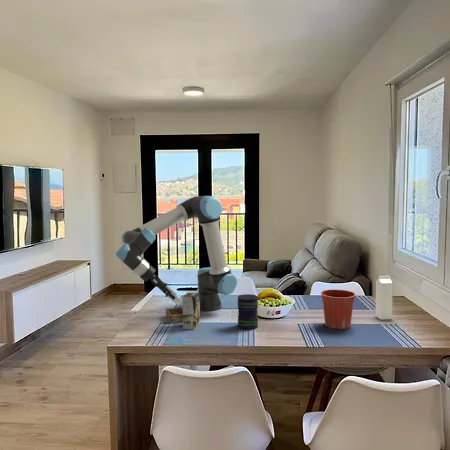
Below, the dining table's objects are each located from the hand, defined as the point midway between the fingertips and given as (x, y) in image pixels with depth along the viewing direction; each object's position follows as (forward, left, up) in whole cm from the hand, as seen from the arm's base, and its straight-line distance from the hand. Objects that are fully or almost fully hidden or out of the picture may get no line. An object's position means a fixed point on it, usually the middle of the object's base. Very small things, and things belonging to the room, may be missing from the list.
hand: (177, 299), depth 202 cm
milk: (-104, +17, -14) cm, 106 cm away
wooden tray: (-4, -15, -14) cm, 21 cm away
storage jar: (-33, +9, -14) cm, 37 cm away
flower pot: (-75, +21, -14) cm, 79 cm away
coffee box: (-7, 0, -14) cm, 16 cm away
